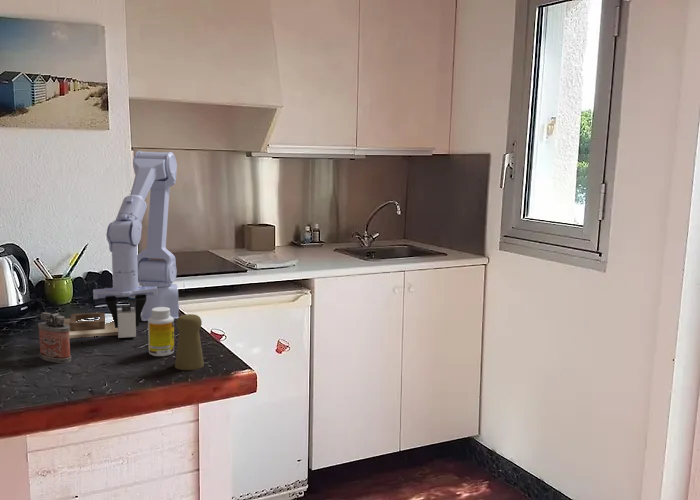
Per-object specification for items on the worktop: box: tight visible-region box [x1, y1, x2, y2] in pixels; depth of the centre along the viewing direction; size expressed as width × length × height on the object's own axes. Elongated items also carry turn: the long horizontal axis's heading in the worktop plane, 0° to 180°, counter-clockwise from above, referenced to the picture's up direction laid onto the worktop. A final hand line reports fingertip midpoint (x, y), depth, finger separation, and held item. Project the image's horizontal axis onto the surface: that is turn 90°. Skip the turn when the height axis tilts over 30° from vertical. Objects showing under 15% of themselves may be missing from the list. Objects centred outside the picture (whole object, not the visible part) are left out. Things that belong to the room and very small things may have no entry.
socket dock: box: [64, 311, 118, 339], centre depth 167 cm, size 14×16×3 cm
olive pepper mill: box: [174, 313, 205, 371], centre depth 141 cm, size 6×6×11 cm
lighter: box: [37, 311, 72, 364], centre depth 143 cm, size 8×3×10 cm, turn 65°
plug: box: [117, 304, 137, 339], centre depth 161 cm, size 4×5×7 cm
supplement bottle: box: [147, 307, 175, 357], centre depth 149 cm, size 6×6×10 cm
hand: (126, 326), depth 161 cm, fingers closed on plug, 4 cm apart
